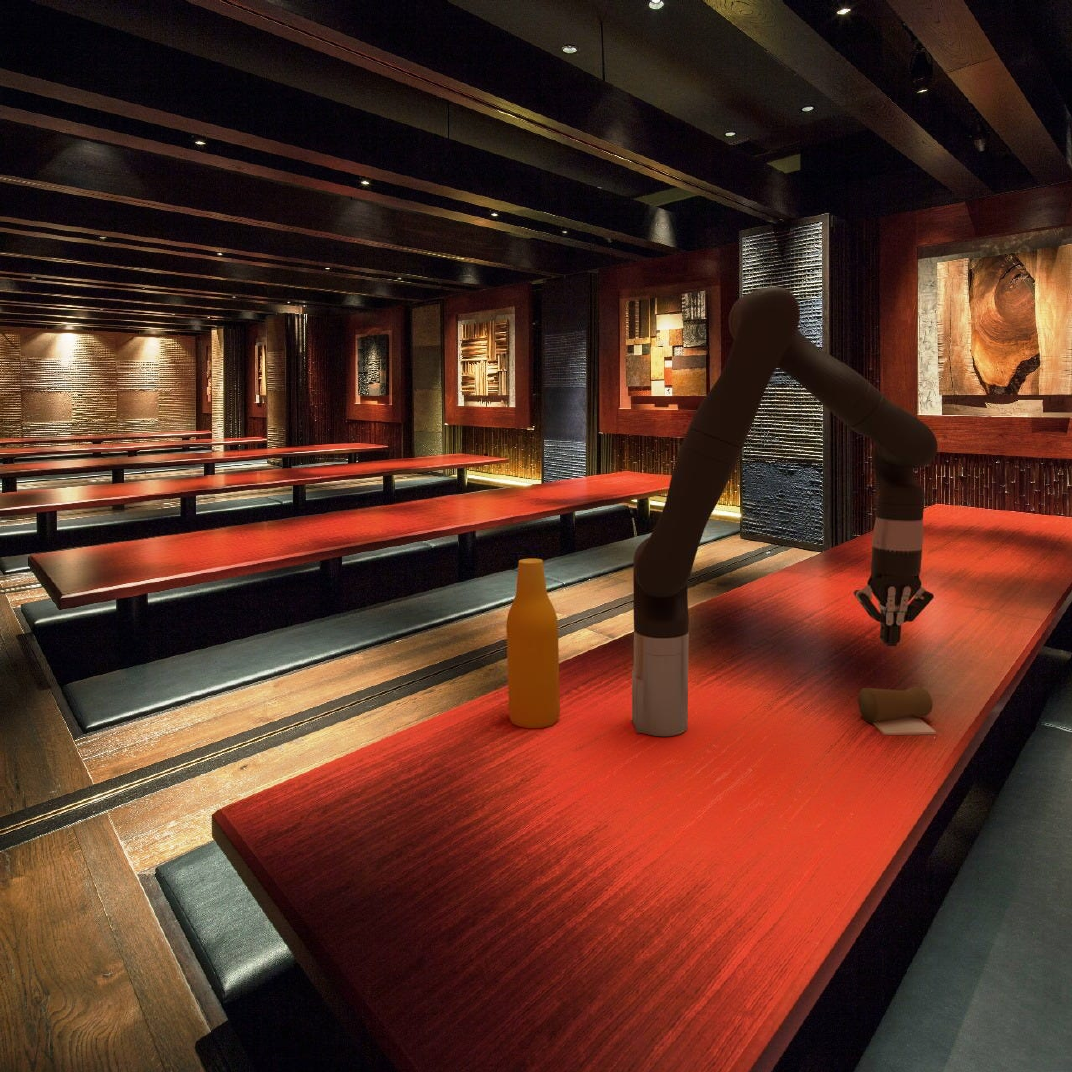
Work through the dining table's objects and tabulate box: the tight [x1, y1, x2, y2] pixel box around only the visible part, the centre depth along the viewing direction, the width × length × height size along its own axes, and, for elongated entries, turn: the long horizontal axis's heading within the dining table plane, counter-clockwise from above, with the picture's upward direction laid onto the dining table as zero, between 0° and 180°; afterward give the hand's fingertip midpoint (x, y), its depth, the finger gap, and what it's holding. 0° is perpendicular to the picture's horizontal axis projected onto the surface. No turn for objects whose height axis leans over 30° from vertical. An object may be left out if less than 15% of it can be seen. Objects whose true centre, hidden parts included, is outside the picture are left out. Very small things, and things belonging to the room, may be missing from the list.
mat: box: [872, 715, 937, 736], centre depth 129 cm, size 8×10×1 cm
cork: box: [857, 686, 933, 724], centre depth 130 cm, size 6×6×11 cm
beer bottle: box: [505, 558, 561, 729], centre depth 132 cm, size 9×9×29 cm
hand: (889, 644), depth 127 cm, fingers closed
